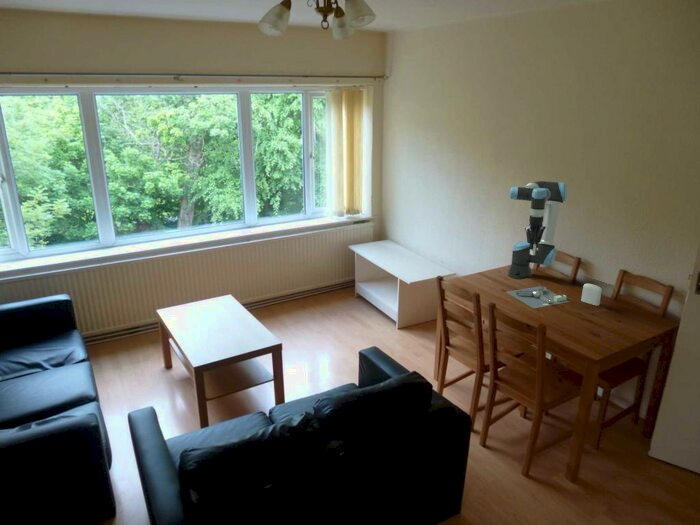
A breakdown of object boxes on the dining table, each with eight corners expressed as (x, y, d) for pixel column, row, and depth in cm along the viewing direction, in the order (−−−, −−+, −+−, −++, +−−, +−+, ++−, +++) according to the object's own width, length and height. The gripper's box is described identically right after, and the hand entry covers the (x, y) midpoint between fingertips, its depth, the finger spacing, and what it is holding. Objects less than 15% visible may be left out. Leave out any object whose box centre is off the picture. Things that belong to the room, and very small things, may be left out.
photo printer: (579, 302, 294) (582, 283, 290) (583, 300, 296) (586, 281, 292) (596, 308, 286) (600, 288, 282) (600, 306, 289) (603, 286, 285)
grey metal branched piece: (513, 288, 312) (514, 283, 311) (545, 290, 308) (546, 285, 307) (518, 302, 292) (518, 297, 291) (552, 304, 288) (552, 299, 287)
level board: (539, 287, 316) (540, 281, 314) (569, 303, 293) (570, 296, 291) (505, 293, 308) (506, 286, 306) (533, 310, 284) (534, 302, 283)
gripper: (541, 213, 292) (537, 251, 300) (523, 215, 288) (519, 253, 296) (550, 216, 285) (545, 255, 293) (531, 218, 281) (527, 257, 289)
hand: (532, 254), depth 294 cm, fingers closed
